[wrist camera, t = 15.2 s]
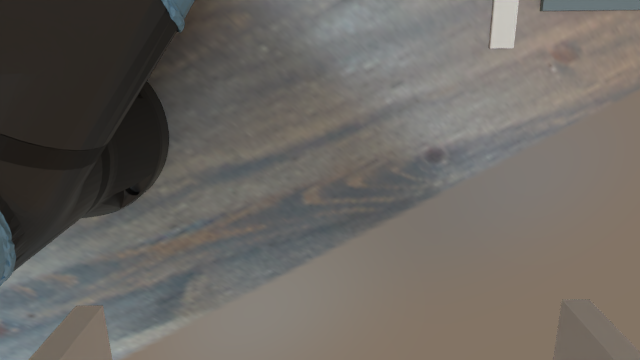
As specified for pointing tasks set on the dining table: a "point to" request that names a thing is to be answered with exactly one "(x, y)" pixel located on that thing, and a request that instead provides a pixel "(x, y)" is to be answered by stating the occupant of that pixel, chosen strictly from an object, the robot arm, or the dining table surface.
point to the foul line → (503, 23)
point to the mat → (589, 5)
